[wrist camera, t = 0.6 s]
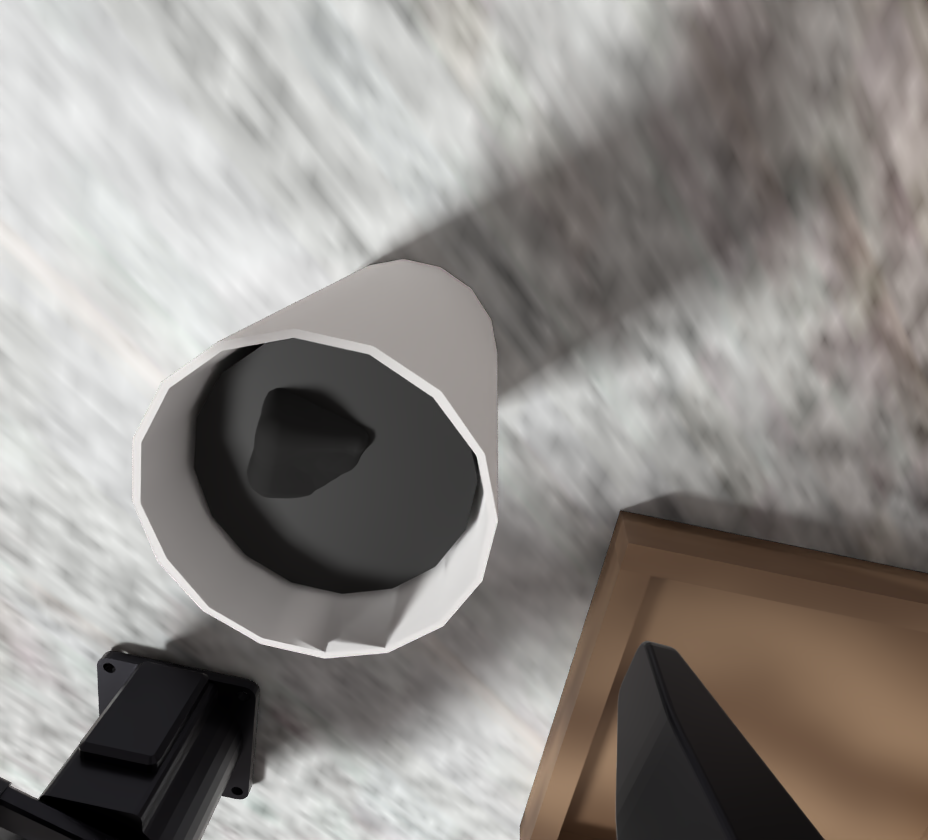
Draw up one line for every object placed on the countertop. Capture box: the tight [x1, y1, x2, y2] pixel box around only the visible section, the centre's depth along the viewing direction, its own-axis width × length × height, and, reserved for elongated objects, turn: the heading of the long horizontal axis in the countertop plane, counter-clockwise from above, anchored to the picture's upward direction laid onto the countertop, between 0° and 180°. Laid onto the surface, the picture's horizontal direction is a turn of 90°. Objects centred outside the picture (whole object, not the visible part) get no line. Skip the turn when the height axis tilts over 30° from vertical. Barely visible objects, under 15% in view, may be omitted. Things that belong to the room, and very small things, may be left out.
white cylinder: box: [132, 259, 498, 659], centre depth 16 cm, size 7×7×10 cm
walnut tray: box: [520, 511, 928, 840], centre depth 25 cm, size 16×16×2 cm
